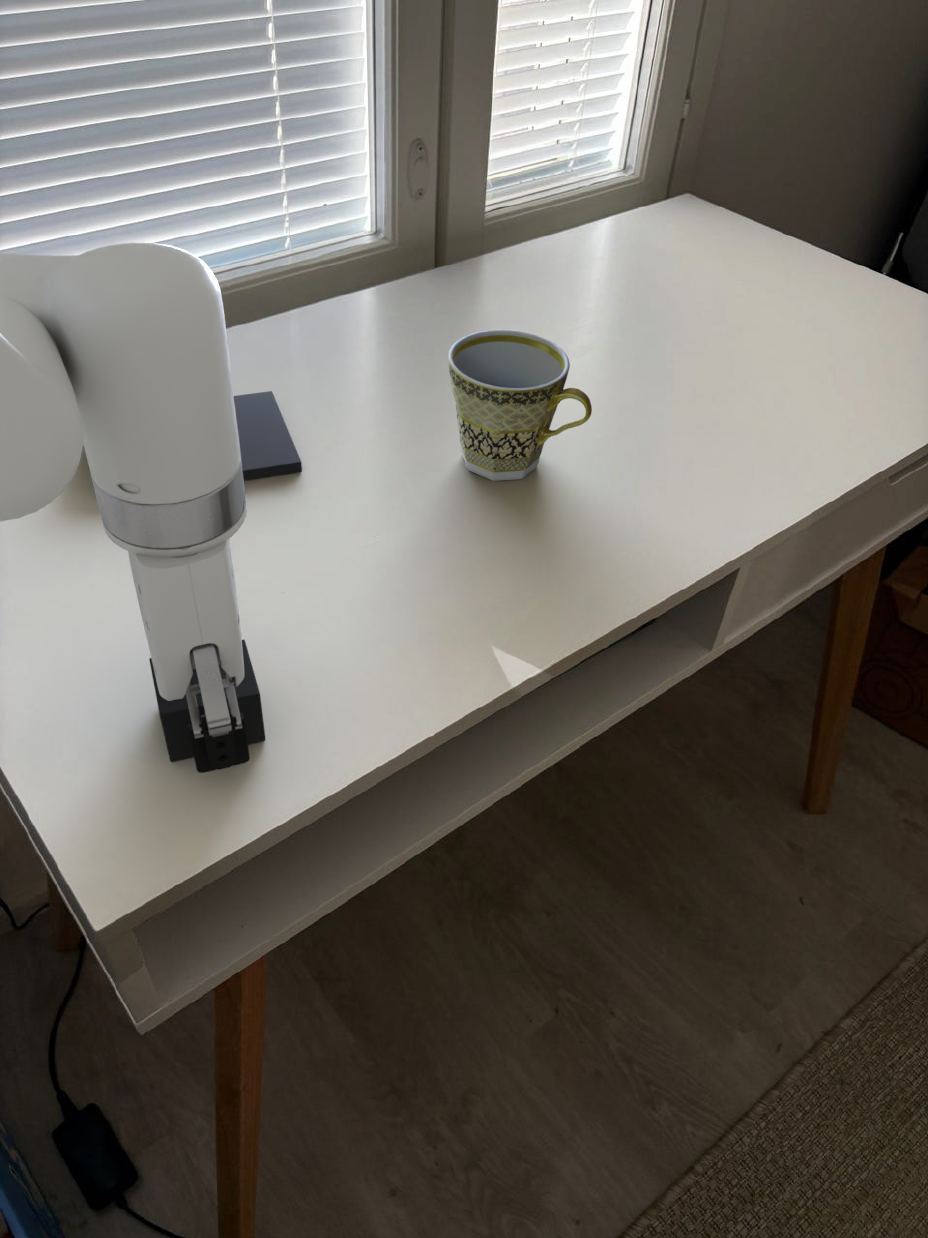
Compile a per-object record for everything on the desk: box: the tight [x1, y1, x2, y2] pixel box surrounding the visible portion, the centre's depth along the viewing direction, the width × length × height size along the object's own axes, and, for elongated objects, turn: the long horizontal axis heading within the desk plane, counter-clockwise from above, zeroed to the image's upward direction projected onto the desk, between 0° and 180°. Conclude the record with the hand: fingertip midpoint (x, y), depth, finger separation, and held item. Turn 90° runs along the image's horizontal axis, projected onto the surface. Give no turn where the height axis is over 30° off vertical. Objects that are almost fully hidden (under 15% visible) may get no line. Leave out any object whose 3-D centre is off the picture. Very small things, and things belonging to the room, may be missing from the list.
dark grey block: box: [149, 638, 266, 763], centre depth 64 cm, size 6×5×4 cm
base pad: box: [234, 390, 303, 481], centre depth 88 cm, size 17×12×2 cm
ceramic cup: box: [447, 329, 593, 482], centre depth 86 cm, size 13×10×10 cm
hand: (210, 710), depth 65 cm, fingers open, 8 cm apart
